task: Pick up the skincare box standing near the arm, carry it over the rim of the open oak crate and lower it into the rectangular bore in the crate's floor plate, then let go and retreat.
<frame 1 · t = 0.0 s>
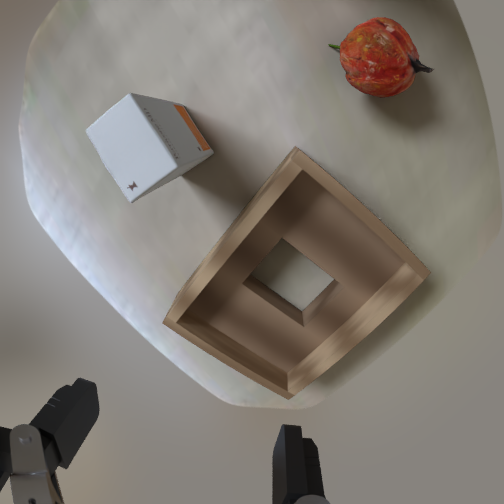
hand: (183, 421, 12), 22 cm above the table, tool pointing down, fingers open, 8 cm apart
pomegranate: (365, 63, 25), on the table
crate: (292, 272, 33), on the table
skincare box: (181, 138, 29), on the table
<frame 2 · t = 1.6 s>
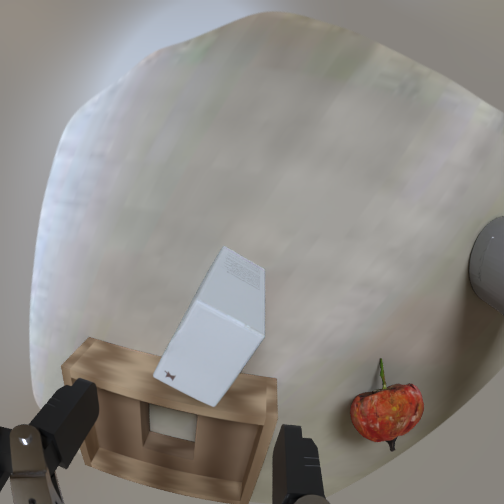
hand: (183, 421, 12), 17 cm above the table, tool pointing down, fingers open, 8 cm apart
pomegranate: (377, 386, 30), on the table
crate: (174, 415, 32), on the table
skincare box: (229, 283, 28), on the table
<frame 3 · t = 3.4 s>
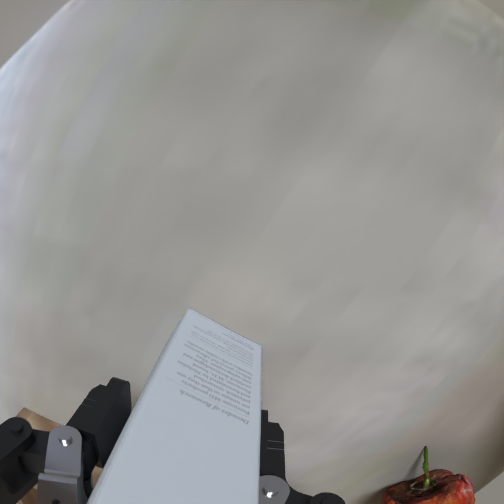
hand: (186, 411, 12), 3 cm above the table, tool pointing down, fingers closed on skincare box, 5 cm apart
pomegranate: (413, 473, 18), on the table
crate: (143, 502, 20), on the table
skincare box: (202, 365, 16), on the table, touching gripper
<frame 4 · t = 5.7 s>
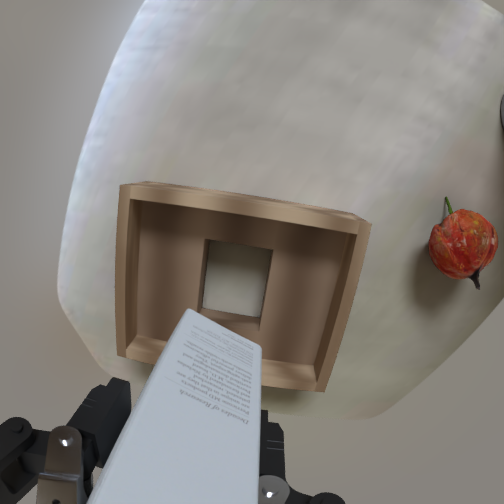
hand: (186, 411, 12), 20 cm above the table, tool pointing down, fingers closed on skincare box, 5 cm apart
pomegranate: (445, 233, 30), on the table
crate: (236, 276, 32), on the table
skincare box: (201, 365, 16), point 16 cm above the table, touching gripper
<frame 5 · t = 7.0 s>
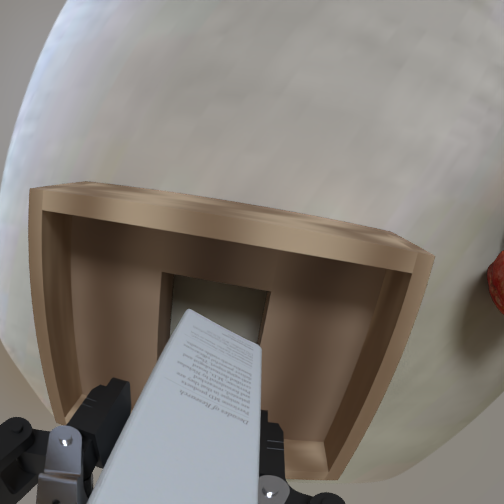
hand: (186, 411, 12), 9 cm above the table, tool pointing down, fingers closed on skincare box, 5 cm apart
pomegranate: (503, 258, 19), on the table
crate: (214, 322, 21), on the table
skincare box: (201, 365, 16), point 5 cm above the table, touching gripper
when the fingers open (5 cm above the table, at t = 8.2 s): skincare box drops 1 cm, resting in crate.
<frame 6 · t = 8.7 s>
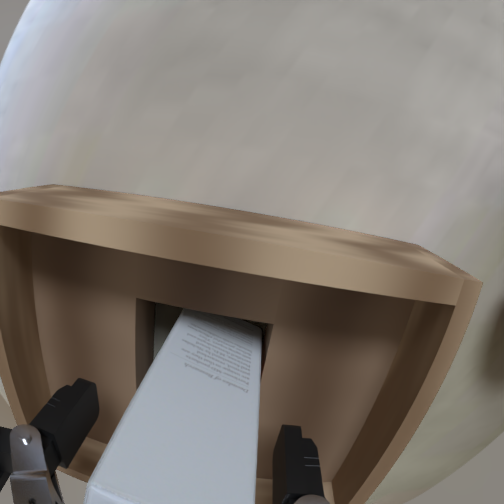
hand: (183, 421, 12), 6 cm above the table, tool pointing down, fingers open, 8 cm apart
crate: (205, 353, 17), on the table
skincare box: (207, 350, 17), resting in crate
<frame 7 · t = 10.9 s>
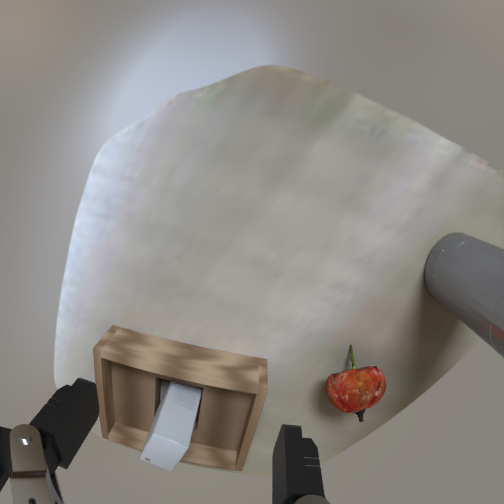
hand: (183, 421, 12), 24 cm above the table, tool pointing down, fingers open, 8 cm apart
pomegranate: (348, 368, 39), on the table
crate: (181, 391, 40), on the table
skincare box: (182, 390, 40), resting in crate
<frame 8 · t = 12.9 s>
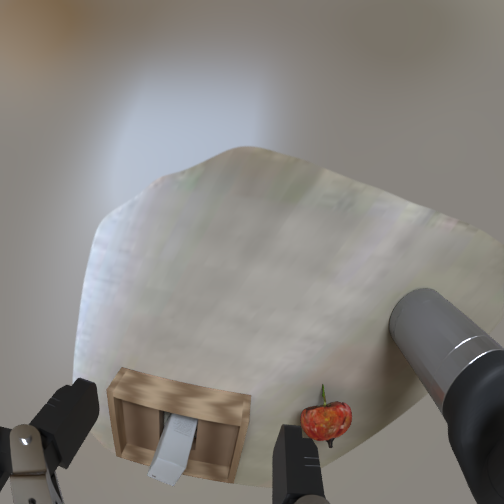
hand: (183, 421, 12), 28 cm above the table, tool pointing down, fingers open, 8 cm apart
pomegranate: (322, 402, 44), on the table
crate: (181, 419, 46), on the table
skincare box: (182, 418, 46), resting in crate
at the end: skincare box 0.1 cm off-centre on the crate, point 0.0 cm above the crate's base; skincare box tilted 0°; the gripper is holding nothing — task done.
